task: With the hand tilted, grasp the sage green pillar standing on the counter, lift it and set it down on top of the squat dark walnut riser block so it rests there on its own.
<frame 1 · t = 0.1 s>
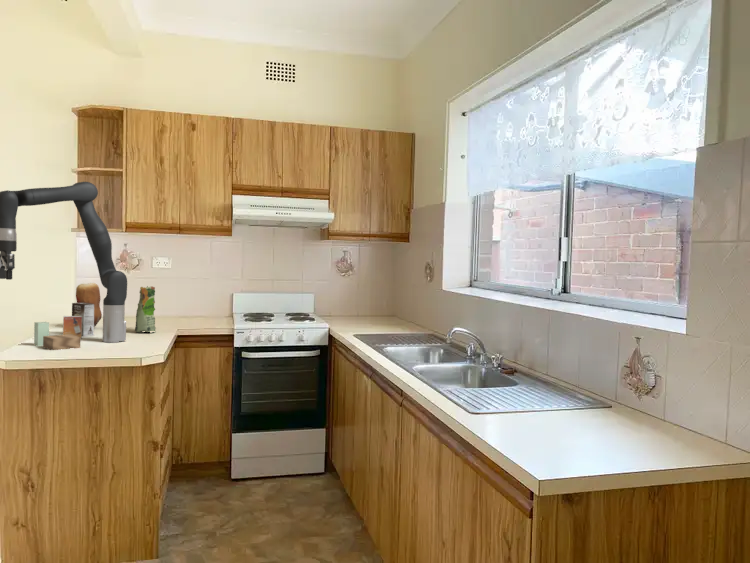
hand: (5, 279, 241), 29 cm above the worktop, tool pointing down, fingers open, 8 cm apart
pouch: (145, 333, 310), on the worktop
sage green pillar: (41, 345, 258), on the worktop
riser: (61, 348, 253), on the worktop
butternut squash: (88, 328, 320), on the worktop
small box: (72, 338, 283), on the worktop
coffee box: (82, 335, 294), on the worktop
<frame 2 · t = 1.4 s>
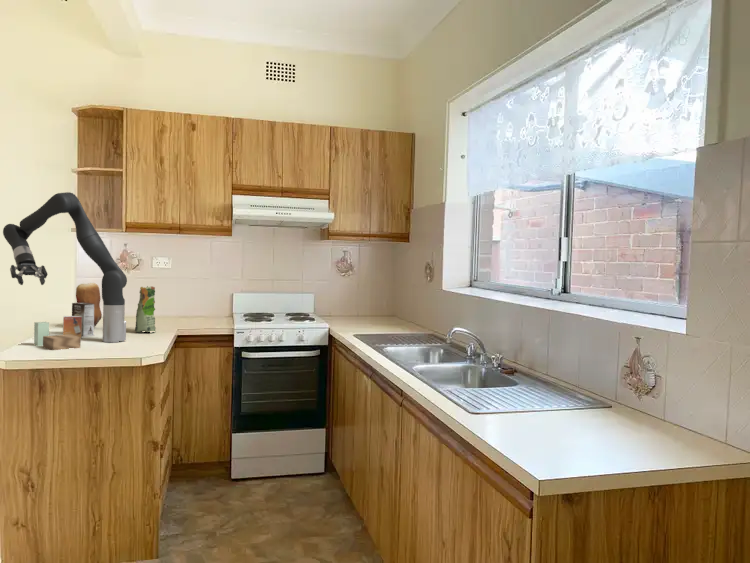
hand: (32, 283, 265), 26 cm above the worktop, tool tilted 45°, fingers open, 8 cm apart
nothing on the worktop moved.
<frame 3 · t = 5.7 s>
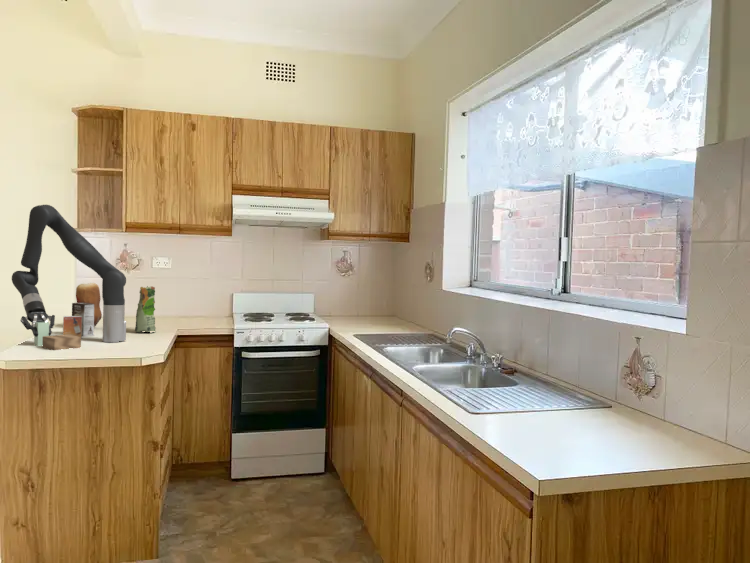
hand: (43, 334, 256), 5 cm above the worktop, tool tilted 45°, fingers closed on sage green pillar, 4 cm apart
sage green pillar: (41, 345, 258), on the worktop, touching gripper
everything else where it was.
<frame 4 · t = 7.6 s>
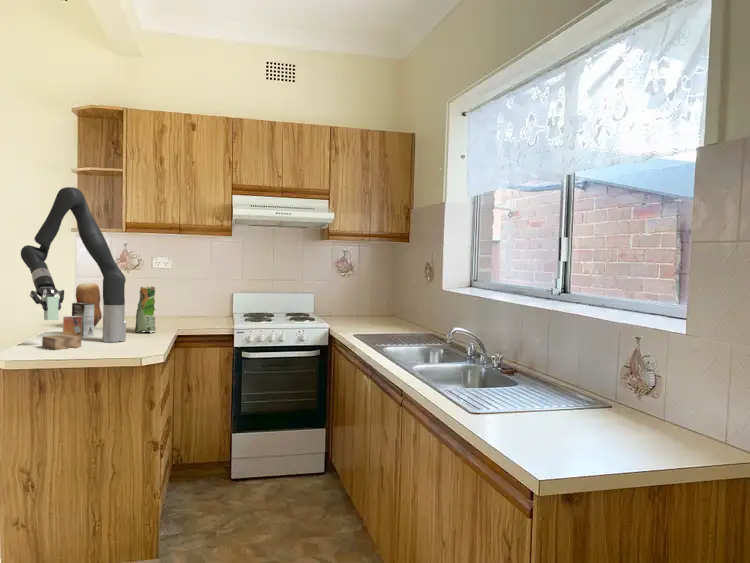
hand: (53, 309, 254), 16 cm above the worktop, tool tilted 45°, fingers closed on sage green pillar, 4 cm apart
sage green pillar: (51, 319, 256), point 12 cm above the worktop, touching gripper
everything else where it was.
when the fingers open (10 cm above the worktop, at t = 9.9 s): sage green pillar drops 1 cm, resting on riser.
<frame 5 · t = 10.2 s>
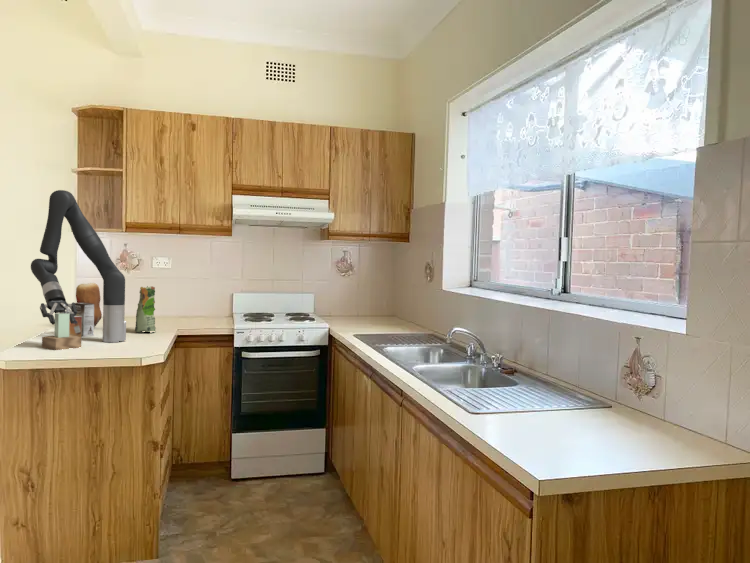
hand: (63, 322, 252), 11 cm above the worktop, tool tilted 45°, fingers open, 7 cm apart
sage green pillar: (61, 336, 253), point 5 cm above the worktop, touching riser
riser: (61, 348, 253), on the worktop, touching sage green pillar
everything else where it was.
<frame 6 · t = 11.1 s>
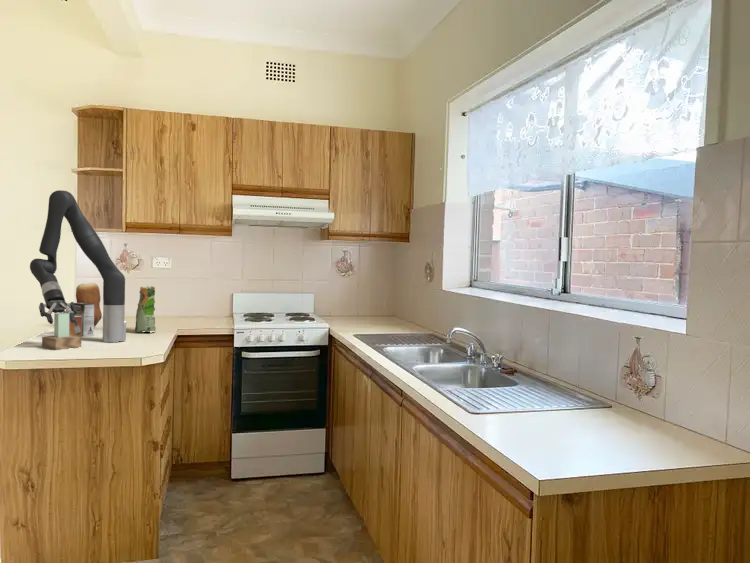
hand: (62, 322, 252), 11 cm above the worktop, tool tilted 45°, fingers open, 8 cm apart
nothing on the worktop moved.
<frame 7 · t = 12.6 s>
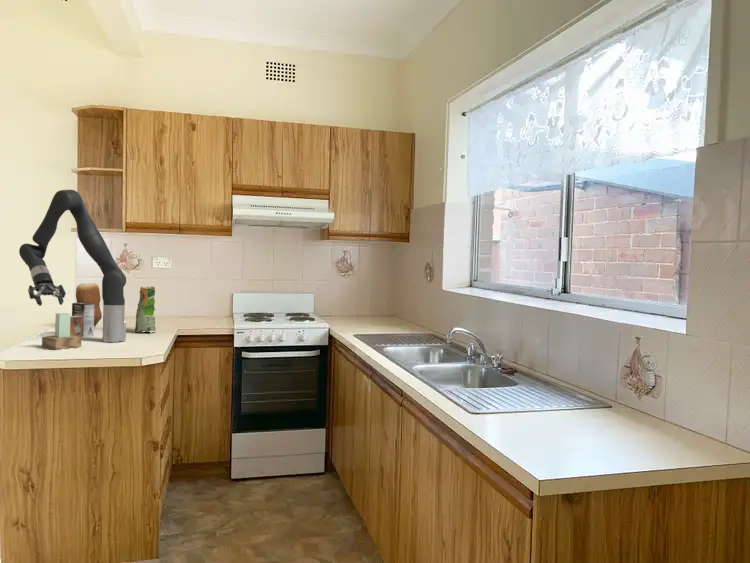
hand: (51, 303, 261), 18 cm above the worktop, tool tilted 45°, fingers open, 8 cm apart
nothing on the worktop moved.
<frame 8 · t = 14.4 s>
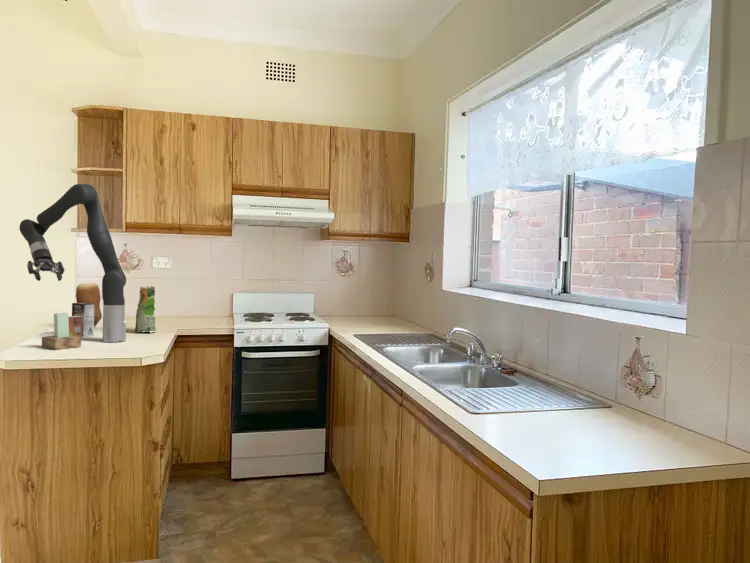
hand: (49, 279, 262), 29 cm above the worktop, tool tilted 45°, fingers open, 8 cm apart
sage green pillar: (61, 336, 252), point 5 cm above the worktop
riser: (61, 348, 253), on the worktop
everything else where it was.
at the end: sage green pillar inside the target area on the riser (0.0 cm from its centre), point 5.1 cm above the riser's base; sage green pillar touching riser; sage green pillar tilted 1° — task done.
